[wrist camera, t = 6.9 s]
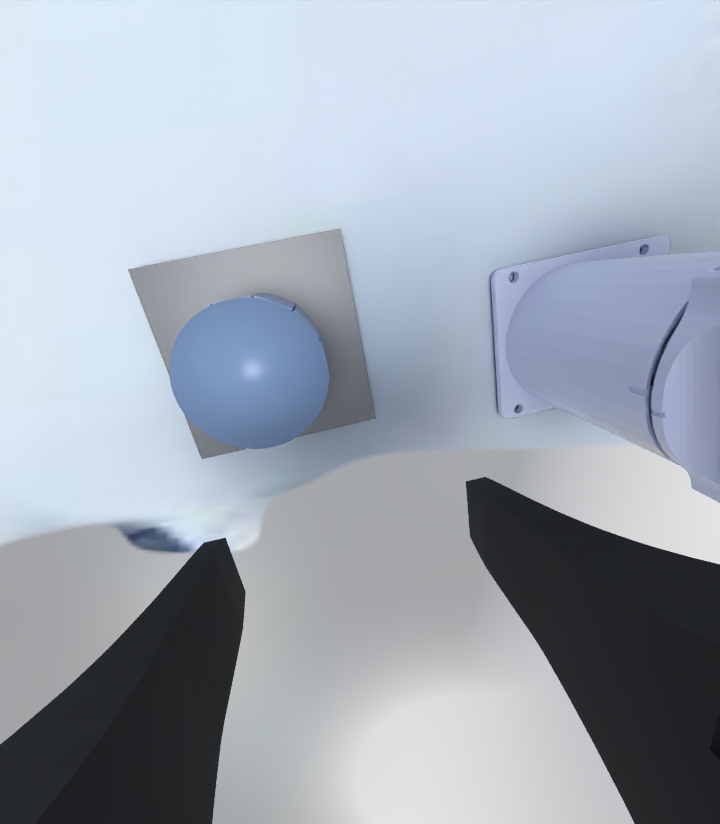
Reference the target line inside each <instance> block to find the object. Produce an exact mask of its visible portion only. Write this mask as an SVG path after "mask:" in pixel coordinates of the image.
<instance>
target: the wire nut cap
mask: <svg viewBox="0 0 720 824" xmlns="http://www.w3.org/2000/svg"><path fill="white" fill-rule="evenodd" d="M294 305H295V303H294V302H291V301H289V300H286V299H283V298H280V297H277V296H274V295H271V294H268V293H260V294H255V295H249V296H244V297H239V298H234V299H229V300H224V301H219V302H214V303H212V304H209V305H208V306H207V307H206V308H205V309H203V310H202V311H200V312H198V313H197V314H196V315H195V316H194V317H192V318H191V319H190V320H189V321H188V322H187V324H186V325H185V326H184V327H183V328H182V330H181V331H180V333H179V335H178V336H177V338H176V341H175V343H174V345H173V348H172V352H171V356H170V364H169V373H170V381H171V387H172V390H173V393H174V396H175V398H176V400H177V402H178V405H179V406H180V408H181V409H182V411H183V412H184V414H185V415H186V416H187V418H188V419H189V420H190V421H191V422H192V423H193V424H194V425H195V426H196V427H197V428H198V429H200V430H201V431H202V432H204V433H205V434H206V435H208V436H210V437H212V438H213V439H215V440H217V441H220V442H222V443H224V444H228V445H231V446H234V447H240V448H249V449H259V448H268V447H273V446H276V445H280V444H283V443H285V442H287V441H290V440H292V439H293V438H295V437H297V436H298V435H300V434H301V433H302V432H303V431H305V430H306V429H307V428H308V427H309V426H310V425H311V424H312V423H313V421H314V420H315V419H316V418H317V416H318V414H319V413H320V411H321V409H322V407H323V405H324V402H325V400H326V396H327V392H328V385H329V380H330V377H329V376H330V374H329V370H328V364H327V360H326V356H325V352H324V347H323V343H322V339H321V336H320V334H319V331H318V328H317V326H316V325H315V324H314V323H313V322H312V320H311V319H310V318H309V317H308V316H307V315H306V314H305V313H304V311H303V310H302V309H301V308H300V307H299V306H298V305H297V304H296V305H295V306H294Z"/></svg>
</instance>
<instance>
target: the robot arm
mask: <svg viewBox="0 0 720 824" xmlns="http://www.w3.org/2000/svg"><path fill="white" fill-rule="evenodd" d="M640 247H642V251H641V253H640V252H639V250H640ZM669 251H670V239H669V237H667V236H666V235H661V236H655V237H650V238H645V239H640V240H635V241H631V242H626V243H621V244H616V245H611V246H607V247H602V248H597V249H592V250H587V251H583V252H578V253H573V254H568V255H563V256H559V257H554V258H549V259H544V260H539V261H535V262H530V263H525V264H520V265H515V266H510V267H506V268H501V269H498V270H496V271H495V272H494V273H493V275H492V278H491V289H492V307H493V324H494V342H495V360H496V378H497V395H498V411H499V414H500V415H501V416H502V417H503V418H505V419H511V418H515V417H519V416H524V415H528V414H532V413H536V412H540V411H544V410H548V409H552V408H557V407H558V408H560V409H562V410H565V411H567V412H569V413H571V414H573V415H575V416H577V417H579V418H581V419H583V420H586V421H588V422H590V423H592V424H594V425H596V426H598V427H600V428H602V429H604V430H607V431H609V432H611V433H613V434H615V435H617V436H619V437H621V438H623V439H625V440H628V441H630V442H632V443H634V444H636V445H638V446H640V447H643V448H644V449H646V450H649V451H651V452H653V453H655V454H657V455H659V456H661V457H663V458H666V459H668V460H670V461H672V462H674V463H676V464H678V465H680V466H682V467H683V468H684V469H685V470H686V471H687V472H688V474H689V476H690V478H691V484H692V488H693V489H694V490H696V491H698V492H700V493H702V494H704V495H706V496H708V497H710V498H712V499H714V500H716V501H717V502H719V503H720V250H715V251H703V252H691V253H680V254H669ZM511 272H513V273H514V280H513V281H512V282H510V281H509V275H510V273H511ZM518 404H519V408H518V409H517V410H516V411H514V408H515V406H516V405H518ZM466 488H467V501H468V515H469V528H470V537H471V539H472V541H473V543H474V545H475V547H476V549H477V551H478V553H479V555H480V557H481V559H482V560H483V562H484V564H485V566H486V568H487V569H488V571H489V572H490V574H491V575H492V577H493V578H494V580H495V581H496V583H497V584H498V586H499V587H500V588H501V590H502V591H503V593H504V594H505V596H506V597H507V599H508V600H509V602H510V603H511V605H512V606H513V608H514V609H515V610H516V612H517V613H518V615H519V616H520V618H521V619H522V620H523V622H524V624H525V625H526V626H527V628H528V629H529V631H530V632H531V633H532V635H533V637H534V638H535V640H536V641H537V643H538V644H539V646H540V648H541V649H542V651H543V652H544V654H545V656H546V657H547V659H548V661H549V663H550V664H551V666H552V668H553V670H554V672H555V673H556V675H557V677H558V678H559V680H560V682H561V684H562V686H563V687H564V689H565V691H566V693H567V695H568V697H569V698H570V700H571V702H572V704H573V706H574V708H575V709H576V711H577V713H578V715H579V717H580V719H581V720H582V722H583V724H584V726H585V728H586V730H587V732H588V733H589V735H590V737H591V739H592V741H593V743H594V744H595V747H596V749H597V750H598V753H599V754H600V756H601V758H602V760H603V762H604V764H605V766H606V767H607V770H608V772H609V773H610V775H611V778H612V779H613V781H614V783H615V785H616V787H617V789H618V791H619V793H620V795H621V797H622V799H623V801H624V803H625V805H626V807H627V809H628V811H629V813H630V815H631V817H632V819H633V821H634V823H635V824H720V565H719V564H715V563H711V562H707V561H703V560H699V559H695V558H691V557H687V556H684V555H680V554H677V553H673V552H669V551H666V550H662V549H658V548H655V547H652V546H648V545H645V544H642V543H639V542H636V541H633V540H630V539H627V538H624V537H621V536H618V535H615V534H612V533H610V532H607V531H604V530H601V529H598V528H596V527H593V526H591V525H588V524H586V523H583V522H581V521H579V520H576V519H574V518H571V517H569V516H567V515H564V514H562V513H560V512H558V511H555V510H553V509H551V508H549V507H547V506H544V505H542V504H540V503H538V502H536V501H534V500H532V499H530V498H527V497H525V496H524V495H522V494H520V493H517V492H515V491H513V490H511V489H509V488H507V487H505V486H503V485H501V484H499V483H497V482H495V481H493V480H491V479H489V478H486V477H484V478H479V479H476V480H471V481H466ZM244 607H245V589H244V587H243V584H242V581H241V579H240V576H239V573H238V571H237V568H236V565H235V562H234V560H233V557H232V554H231V552H230V549H229V546H228V544H227V541H226V538H223V539H218V540H214V541H210V542H206V543H203V544H202V545H201V546H200V548H199V549H198V550H197V551H196V552H195V553H194V554H193V555H192V557H191V558H190V559H189V560H188V561H187V562H186V564H185V565H184V566H183V567H182V569H180V571H179V572H178V573H177V574H176V575H175V577H174V578H173V579H172V580H171V581H170V582H169V583H168V585H167V586H166V587H165V588H164V589H163V590H162V592H161V593H160V594H159V595H158V596H157V598H155V600H154V601H153V602H152V603H151V604H150V605H149V606H148V607H147V608H146V609H145V611H144V612H143V613H142V614H141V615H140V616H139V617H138V618H137V619H136V620H135V621H134V622H133V624H131V625H130V627H129V628H128V629H127V630H126V631H125V632H124V633H123V634H122V635H121V636H120V637H119V638H118V639H117V640H116V641H115V642H114V643H113V644H112V646H110V647H109V649H108V650H106V651H105V652H104V653H103V655H102V656H100V657H99V658H98V659H97V660H96V661H95V662H94V663H93V664H92V665H91V666H90V667H89V668H88V669H87V670H86V671H85V672H84V673H82V674H81V675H80V676H79V677H78V678H77V679H76V680H75V681H74V682H73V683H72V684H71V685H70V686H68V687H67V688H66V689H65V690H64V691H63V692H62V693H61V694H59V695H58V696H57V697H56V698H55V699H54V700H52V701H51V702H50V703H49V704H48V705H47V706H46V707H44V708H43V709H42V710H41V711H40V712H38V713H37V714H36V715H35V716H34V717H33V718H31V719H30V720H29V721H28V722H27V723H26V724H24V725H23V726H22V727H21V728H20V729H19V730H17V731H16V732H15V733H14V734H13V735H12V736H10V737H9V738H8V739H7V740H5V741H4V742H3V743H2V744H0V824H212V818H213V808H214V797H215V788H216V779H217V770H218V762H219V753H220V744H221V738H222V732H223V726H224V720H225V715H226V710H227V705H228V700H229V696H230V690H231V686H232V681H233V676H234V670H235V666H236V661H237V656H238V651H239V645H240V641H241V635H242V630H243V620H244Z"/></svg>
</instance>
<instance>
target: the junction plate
mask: <svg viewBox="0 0 720 824" xmlns="http://www.w3.org/2000/svg"><path fill="white" fill-rule="evenodd" d="M128 271H129V273H130V276H131V278H132V281H133V284H134V286H135V289H136V291H137V294H138V296H139V299H140V302H141V304H142V307H143V309H144V312H145V314H146V317H147V320H148V322H149V325H150V327H151V330H152V332H153V335H154V337H155V340H156V343H157V345H158V348H159V350H160V353H161V355H162V358H163V361H164V363H165V366H166V368H167V371H168V373H169V364H170V356H171V352H172V348H173V345H174V343H175V341H176V338H177V336H178V335H179V333H180V331H181V330H182V328H183V327H184V326H185V325H186V324H187V322H188V321H189V320H190V319H191V318H192V317H194V316H195V315H196V314H197V313H198V312H200V311H202V310H203V309H205V308H206V307H207V306H208V305H209V304H212V303H214V302H219V301H224V300H229V299H234V298H239V297H244V296H249V295H255V294H260V293H268V294H271V295H274V296H277V297H280V298H283V299H286V300H289V301H291V302H294V303H295V305H296V304H297V305H298V306H299V307H300V308H301V309H302V310H303V311H304V313H305V314H306V315H307V316H308V317H309V318H310V319H311V320H312V322H313V323H314V324H315V325H316V326H317V328H318V331H319V334H320V336H321V339H322V343H323V347H324V352H325V356H326V360H327V364H328V370H329V374H330V376H329V377H330V380H329V385H328V392H327V396H326V400H325V402H324V405H323V407H322V409H321V411H320V413H319V414H318V416H317V418H316V419H315V420H314V421H313V423H312V424H311V425H310V426H309V427H308V428H307V429H306V430H305V431H303V432H302V433H301V434H300V435H298V436H302V435H307V434H311V433H315V432H319V431H324V430H328V429H332V428H336V427H341V426H345V425H349V424H353V423H358V422H362V421H366V420H370V419H375V412H374V407H373V402H372V396H371V391H370V386H369V380H368V375H367V370H366V364H365V359H364V354H363V348H362V343H361V338H360V332H359V327H358V322H357V316H356V311H355V306H354V300H353V295H352V290H351V284H350V279H349V274H348V268H347V263H346V258H345V252H344V247H343V242H342V236H341V231H340V229H336V230H331V231H326V232H321V233H316V234H310V235H305V236H300V237H295V238H290V239H284V240H279V241H274V242H269V243H264V244H258V245H253V246H248V247H243V248H238V249H232V250H227V251H222V252H217V253H212V254H206V255H201V256H196V257H191V258H186V259H180V260H175V261H170V262H165V263H159V264H154V265H149V266H144V267H139V268H133V269H128ZM295 305H294V306H295ZM169 376H170V373H169ZM185 417H186V420H187V422H188V425H189V427H190V430H191V432H192V435H193V438H194V440H195V443H196V445H197V448H198V450H199V453H200V456H201V458H202V459H204V458H209V457H213V456H217V455H221V454H226V453H230V452H234V451H238V450H243V449H247V448H240V447H234V446H231V445H228V444H224V443H222V442H220V441H217V440H215V439H213V438H212V437H210V436H208V435H206V434H205V433H204V432H202V431H201V430H200V429H198V428H197V427H196V426H195V425H194V424H193V423H192V422H191V421H190V420H189V419H188V418H187V416H186V415H185ZM298 436H297V437H298Z"/></svg>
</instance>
